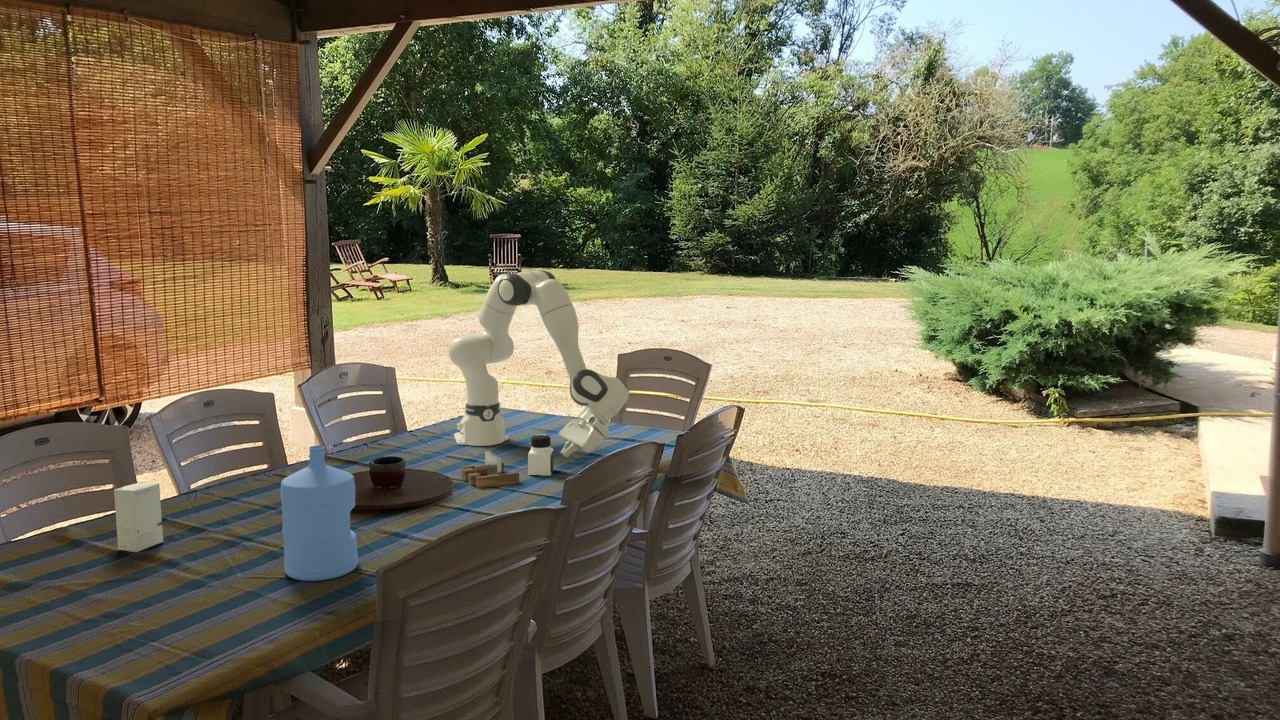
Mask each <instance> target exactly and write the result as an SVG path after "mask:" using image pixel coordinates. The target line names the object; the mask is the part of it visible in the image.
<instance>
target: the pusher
mask: <svg viewBox="0 0 1280 720" xmlns="http://www.w3.org/2000/svg"><path fill="white" fill-rule="evenodd" d="M484 453H485V454H484V455H485V456H484V458H485V459H484V460H485V461H484V464H485V465H479V464H477V465H478V466H475V470H476V471H477V470H485V472H486V474H485V475H486V476H488V475H496V474H502V472H501V462H502V459H501V457H500V456H498V455H496V454H495V453H493V452H492V451H490V450H485V451H484Z"/></svg>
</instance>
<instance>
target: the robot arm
mask: <svg viewBox="0 0 1280 720" xmlns="http://www.w3.org/2000/svg"><path fill="white" fill-rule="evenodd" d="M532 304H534V305H535V306H536V307H537V309H538V312H539V315H540V317H541V320H542V322H543V325H544V327H545V329H546V330H547V332H548V334H549V335H550V337H551V339H552V340H553V342H554V344H555V345H556V347H557V348H558V351H559V352H560V355H561V358H562V361H563V362H564V366H565V368H566V371H567V375H568V376H569V383H570V385H569V393H570V398H571V400H572V401H573V402H574V403H575V404H577V405H579V406H582V407H585V408H584V409H583V411H581V412H580V414H579V415H578V416H577V418H572V419H571V420H570V421H568V422H567V423H566V424H565V425H564V427H563V428H562V429H561V430H560V431H559V433H558V436H559V437H560V438H561V439H563V441H564V442H565V443H564V445H563V448H562V449H561V450H560V454H561V455H562V456H564V457H566V458H568V457H569V456H570V455H571V454H573V453H574V452H576V451H577V450H578V449H579V450H582V451H583V452H586V453H587V454H589V453H591V452H593V451H594V450H595V449H596V448H597V447H598V446H599V445H600V444H601V442H602V441H603V440H604V438H606V437H607V436H609V434H610V431H609V429H608V427H607V426H608V425H609V423H610V422H611V419H612V418H614V416H616V415H617V414H618V413H619V411H620V410H621V409H622V408H623V406H624V405H625V404H626V402H627V401H628V399H629V395H630V393H629V389H628V387H627V386H626V384H625V383H624V382H623V381H622V380H621V379H620V378H618V377H614V376H607V375H604V374H601V373H598V372H596V371H594V370H593V369H588V368H587V365H586V364H585V361H584V358H583V355H582V352H581V348H580V345H579V328H580V327H579V320H578V315H577V312H576V309H575V306H574V305H573V302H572V299H571V298H570V296H569V294H568V291H566V288H565V287H564V286H563V284H562V282H560V281H559V280H558V279H557V278H556V277H555V275H554V274H553V273H551V272H550V271H546V270H542V269H541V270H525V271H521V272H515V273H513V272H512V273H502V274H499V275H497V277H496V278H495V279H494V281H493V282H492V283H491V285H490V287H489V288H488V291H487V292H486V295H485V297H484V300H483V302H482V304H481V308H480V310H479V312H478V316H477V317H478V322H479V323H480V325H481V327H482V328H483V330H482V331H481V332H480V333H474V334H465V335H462V336H459V337H456V338H454V339H452V341H450V343H449V346H448V355H449V358H450V360H451V362H452V363H453V364H454V365H456V366H457V367H458V368H459V370H460V372H462V374H463V377H464V380H465V381H464V382H465V387H466V404H465V407H464V408H465V409H464V412H465V413H464V416H463V417H462V418H461V420H460V421H459V422H457V423H456V429H457V430H458V431H459V430H460V431H459V432H458V431H457V432H455V433H454V434H453V437H454V439H455V441H456V443H457V445H460V446H461V445H463V446H464V445H465V446H476V447H477V446H478V447H480V446H481V447H484V446H485V447H486V446H494V445H495V446H496V445H499V444H502V443H504V442H505V441H508V440H509V439H510V438H509V436H508V435H507V434H506V433H505V432H506V431H505V430H506V429H505V420H504V417H503V416H502V414H500V412H501V404H500V401H499V382H498V380H497V379H496V378H495V377H494V376H493V375H492V374H491V375H490V373H489V371H488V369H487V368H488V367H487V365H489V364H490V365H491V364H496V363H497V364H498V363H500V362H503V361H505V360H508V359H510V358H511V357H512V355H513V354H514V349H515V344H514V341H513V339H512V337H511V336H510V335H509V328H510V324H511V323H512V319H513V316H514V314H515V311H516V309H517V307H518V306H527V305H532Z"/></svg>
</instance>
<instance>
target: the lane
mask: <svg viewBox="0 0 1280 720" xmlns="http://www.w3.org/2000/svg"><path fill="white" fill-rule="evenodd" d="M478 465H485V463H481V464H470V465H462V467H461V468H462V469H461V476H462V477H461V478H462V480H463V481H464V482H467V483H468V484H469V486H470V487H476V488H477V489H481V488H488V487H489V488H490V487H495V486H496V487H498V486H503V485H504V486H505V485H510V484H511V485H512V484H519V483H520V472H518V471H514V472H505V462H504V461H501V474H496V475H487V474H486V472H485V470H477V471H476V470H475V466H478Z"/></svg>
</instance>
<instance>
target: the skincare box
mask: <svg viewBox="0 0 1280 720" xmlns="http://www.w3.org/2000/svg"><path fill="white" fill-rule="evenodd" d="M160 486H161V485H160V483H159V482H158V483H157V482H147V481H140V482H136V483H133V484H129V485H125V486H121V487H119V488H115V489H114V490H113V494H114V506H115V507H114V510H115V520H116V521H115V522H116V524H115V525H116V536H117V549H118V550H119V551H125V552H126V551H127V552H130V553H131V552H133V553H138V552H141V551H143V550H145V549H146V550H147V549H148V548H150V547H153V546H155V545H159V544H162V543H163V542H164V534H163V533H164V532H163V518H162V505H161V503H162V502H161V489H160Z"/></svg>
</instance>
